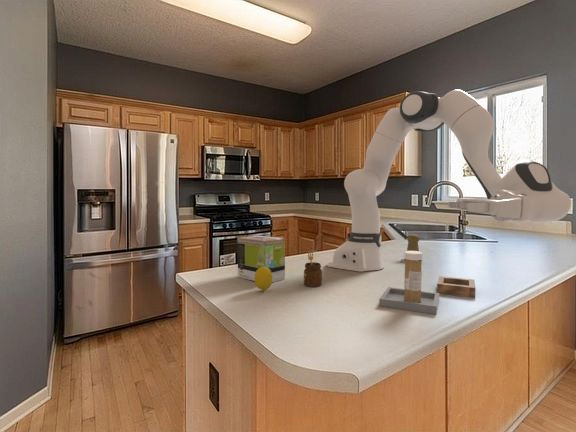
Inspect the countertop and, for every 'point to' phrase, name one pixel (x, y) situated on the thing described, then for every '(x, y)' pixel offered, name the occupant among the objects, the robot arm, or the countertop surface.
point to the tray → (396, 300)
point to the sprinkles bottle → (413, 276)
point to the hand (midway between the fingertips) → (457, 205)
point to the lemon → (263, 278)
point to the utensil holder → (312, 272)
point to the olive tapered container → (413, 242)
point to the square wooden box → (456, 286)
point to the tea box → (261, 256)
